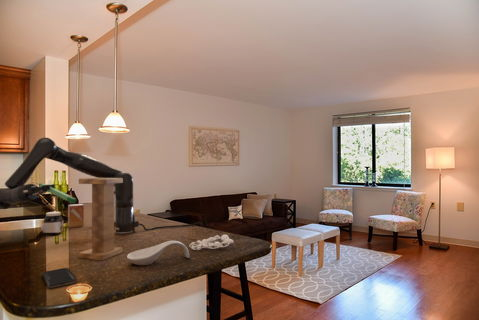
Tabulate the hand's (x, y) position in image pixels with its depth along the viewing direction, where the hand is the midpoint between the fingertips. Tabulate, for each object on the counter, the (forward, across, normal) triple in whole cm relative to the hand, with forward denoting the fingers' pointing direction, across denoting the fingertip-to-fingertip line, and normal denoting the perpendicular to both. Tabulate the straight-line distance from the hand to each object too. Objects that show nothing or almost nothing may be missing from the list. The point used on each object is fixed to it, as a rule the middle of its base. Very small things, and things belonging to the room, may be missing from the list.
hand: (51, 186), depth 142 cm
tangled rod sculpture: (+58, +28, +41) cm, 77 cm away
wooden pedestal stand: (+20, +2, +33) cm, 38 cm away
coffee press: (-23, +59, +24) cm, 68 cm away
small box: (-40, +45, +21) cm, 64 cm away
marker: (+2, 0, +4) cm, 5 cm away
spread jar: (-35, +24, +22) cm, 48 cm away
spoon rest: (+47, +2, +38) cm, 61 cm away
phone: (+28, -26, +34) cm, 51 cm away
